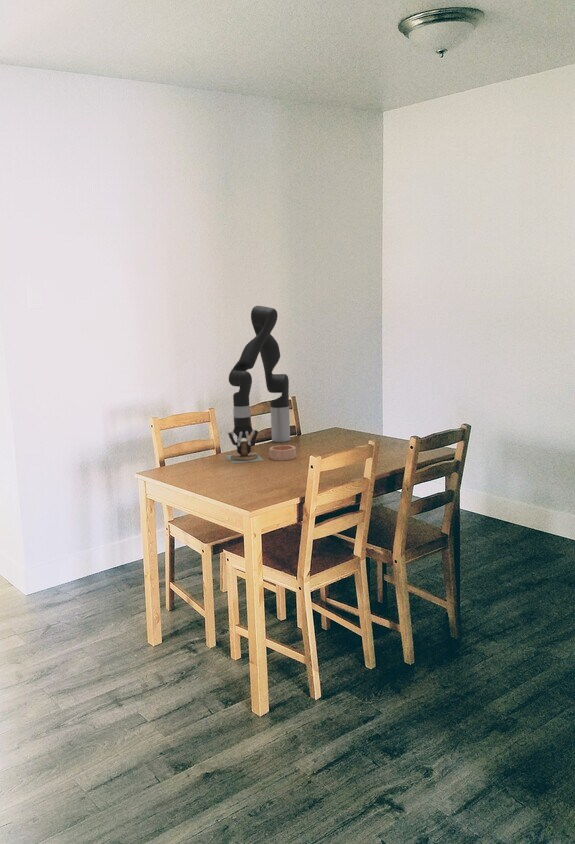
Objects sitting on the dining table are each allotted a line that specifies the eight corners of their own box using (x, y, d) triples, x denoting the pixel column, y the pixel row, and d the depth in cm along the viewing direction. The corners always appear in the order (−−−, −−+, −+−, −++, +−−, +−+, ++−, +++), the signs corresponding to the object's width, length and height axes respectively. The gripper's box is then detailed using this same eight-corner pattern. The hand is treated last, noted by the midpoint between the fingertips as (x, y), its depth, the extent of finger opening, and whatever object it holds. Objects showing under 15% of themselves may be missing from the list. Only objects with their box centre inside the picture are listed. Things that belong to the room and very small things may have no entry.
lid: (228, 456, 323) (227, 440, 321) (254, 453, 326) (253, 438, 324) (233, 461, 311) (232, 445, 310) (260, 459, 314) (259, 443, 313)
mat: (225, 456, 324) (225, 455, 324) (255, 453, 328) (255, 452, 328) (232, 464, 309) (232, 463, 309) (263, 461, 313) (263, 459, 313)
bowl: (267, 457, 320) (267, 446, 319) (291, 454, 323) (291, 444, 322) (273, 462, 309) (273, 451, 308) (298, 460, 312) (298, 449, 311)
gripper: (255, 413, 320) (257, 450, 324) (224, 415, 317) (226, 453, 320) (259, 415, 313) (261, 453, 316) (228, 418, 310) (230, 456, 313)
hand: (244, 453), depth 318 cm, fingers closed on lid, 3 cm apart
